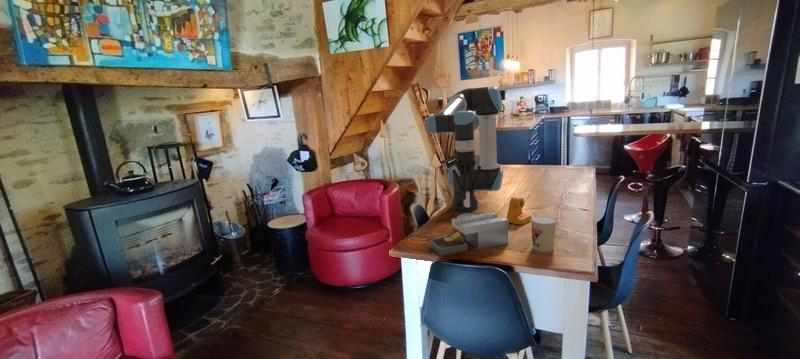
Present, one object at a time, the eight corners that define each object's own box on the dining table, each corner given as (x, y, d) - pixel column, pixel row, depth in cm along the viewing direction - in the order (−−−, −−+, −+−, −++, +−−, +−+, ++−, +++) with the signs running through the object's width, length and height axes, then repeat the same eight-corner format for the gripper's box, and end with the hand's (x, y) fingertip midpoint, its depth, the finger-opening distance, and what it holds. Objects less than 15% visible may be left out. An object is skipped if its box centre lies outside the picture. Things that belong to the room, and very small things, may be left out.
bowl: (467, 235, 168) (467, 222, 167) (452, 228, 178) (452, 216, 177) (487, 230, 173) (487, 217, 172) (471, 223, 183) (471, 211, 182)
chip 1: (451, 244, 158) (443, 246, 158) (451, 237, 158) (443, 238, 157) (454, 248, 155) (446, 249, 154) (454, 240, 154) (446, 241, 154)
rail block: (452, 241, 163) (451, 218, 161) (493, 234, 168) (493, 211, 166) (464, 252, 152) (464, 227, 149) (508, 243, 157) (508, 219, 155)
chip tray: (430, 246, 160) (430, 239, 159) (456, 241, 163) (455, 235, 162) (440, 256, 149) (440, 249, 149) (467, 251, 152) (467, 244, 152)
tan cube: (455, 241, 158) (451, 235, 157) (462, 236, 158) (458, 230, 157) (457, 245, 154) (453, 239, 153) (464, 240, 154) (460, 234, 153)
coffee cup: (526, 245, 154) (527, 217, 152) (548, 242, 155) (549, 215, 152) (536, 254, 145) (537, 224, 143) (560, 251, 146) (561, 222, 143)
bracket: (520, 226, 176) (520, 201, 173) (506, 223, 181) (506, 199, 179) (532, 220, 183) (532, 196, 180) (518, 217, 188) (518, 194, 185)
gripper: (453, 153, 144) (456, 211, 150) (484, 149, 148) (485, 206, 153) (446, 150, 151) (448, 206, 157) (475, 147, 155) (476, 201, 160)
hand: (466, 206), depth 155 cm, fingers closed
